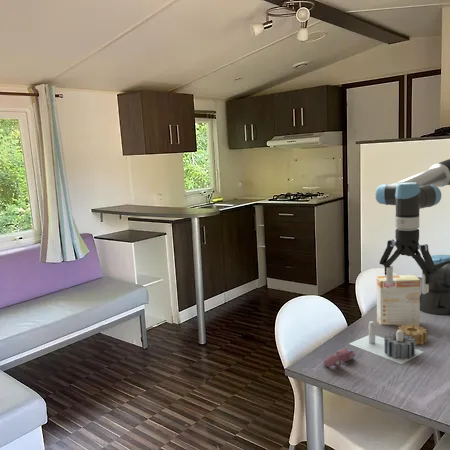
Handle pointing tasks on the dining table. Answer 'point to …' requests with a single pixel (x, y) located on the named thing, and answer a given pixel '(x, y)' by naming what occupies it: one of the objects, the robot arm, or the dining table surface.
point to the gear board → (380, 344)
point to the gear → (399, 346)
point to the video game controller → (339, 358)
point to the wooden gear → (415, 332)
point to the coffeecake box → (398, 300)
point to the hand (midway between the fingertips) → (406, 288)
